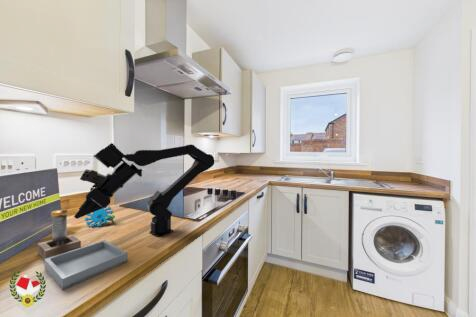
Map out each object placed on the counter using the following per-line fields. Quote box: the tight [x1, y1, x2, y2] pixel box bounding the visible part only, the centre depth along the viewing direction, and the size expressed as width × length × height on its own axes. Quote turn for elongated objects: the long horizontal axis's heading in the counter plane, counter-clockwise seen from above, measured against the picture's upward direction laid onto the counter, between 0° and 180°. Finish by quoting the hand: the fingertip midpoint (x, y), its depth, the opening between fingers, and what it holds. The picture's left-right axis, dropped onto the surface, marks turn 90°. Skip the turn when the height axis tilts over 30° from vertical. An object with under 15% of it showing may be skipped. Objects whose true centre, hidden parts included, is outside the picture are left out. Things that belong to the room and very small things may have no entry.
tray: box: [44, 239, 128, 291], centre depth 53 cm, size 14×14×2 cm
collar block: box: [37, 234, 82, 262], centre depth 59 cm, size 8×8×3 cm
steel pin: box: [50, 209, 69, 247], centre depth 59 cm, size 4×4×12 cm
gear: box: [84, 205, 116, 228], centre depth 84 cm, size 11×6×10 cm
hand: (77, 213), depth 61 cm, fingers open, 9 cm apart
